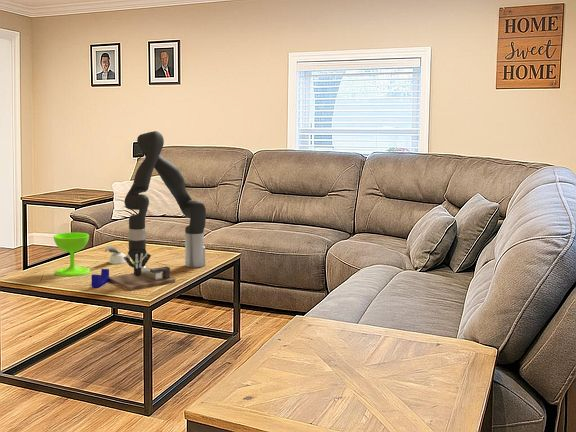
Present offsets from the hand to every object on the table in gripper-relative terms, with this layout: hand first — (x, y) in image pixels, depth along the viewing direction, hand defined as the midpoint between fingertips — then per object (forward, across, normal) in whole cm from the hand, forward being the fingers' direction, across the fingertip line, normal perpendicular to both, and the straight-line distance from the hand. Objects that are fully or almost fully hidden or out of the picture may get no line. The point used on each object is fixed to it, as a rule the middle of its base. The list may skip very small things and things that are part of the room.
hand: (137, 275), depth 284 cm
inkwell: (+3, -7, -40) cm, 40 cm away
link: (+2, -7, -3) cm, 8 cm away
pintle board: (+3, -3, -1) cm, 4 cm away
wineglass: (+4, +16, -35) cm, 39 cm away
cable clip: (+4, +15, -7) cm, 17 cm away
